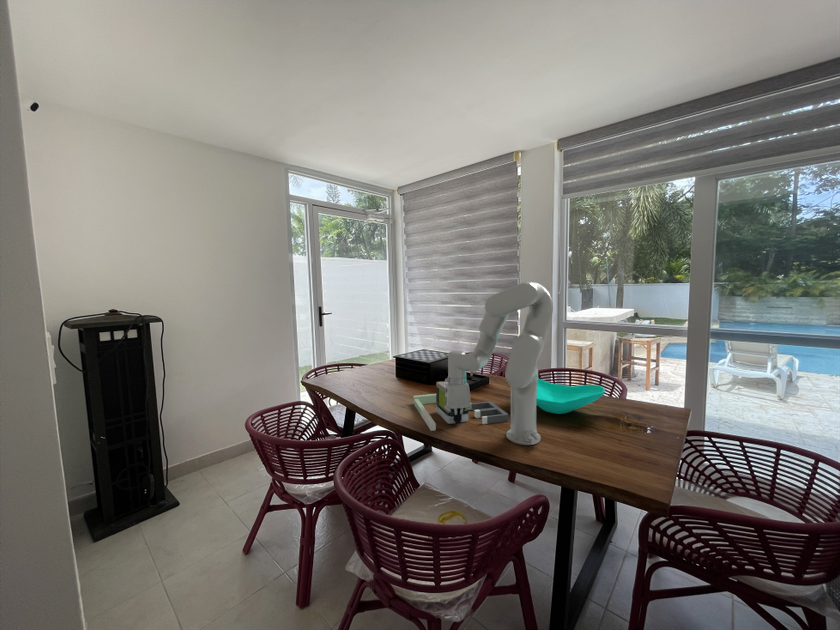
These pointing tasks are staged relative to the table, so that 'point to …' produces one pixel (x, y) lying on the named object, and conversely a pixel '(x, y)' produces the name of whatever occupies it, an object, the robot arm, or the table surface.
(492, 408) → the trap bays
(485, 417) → the lane
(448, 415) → the tea box
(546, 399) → the table top decor
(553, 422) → the table surface
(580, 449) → the table surface
